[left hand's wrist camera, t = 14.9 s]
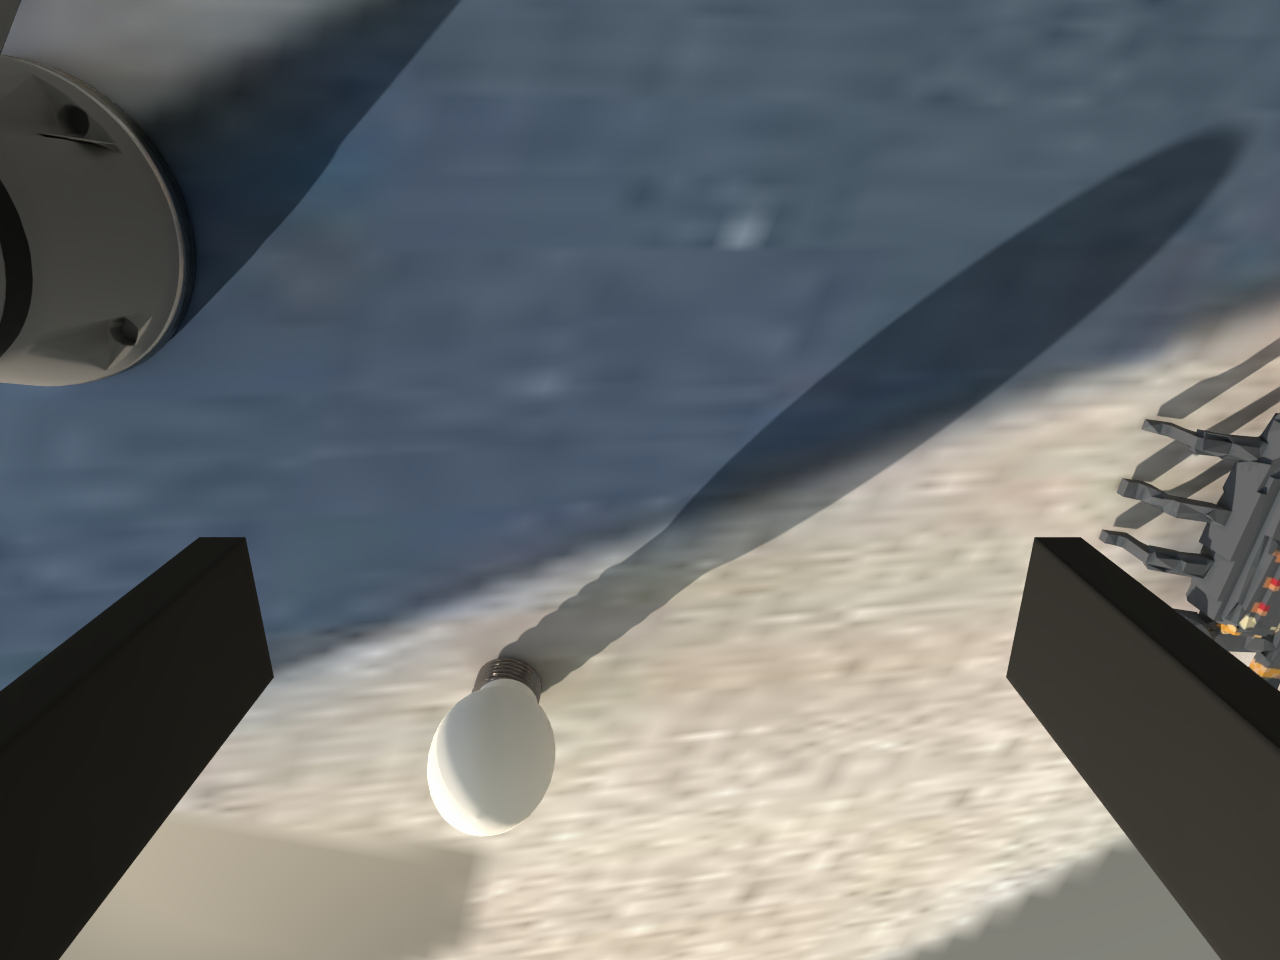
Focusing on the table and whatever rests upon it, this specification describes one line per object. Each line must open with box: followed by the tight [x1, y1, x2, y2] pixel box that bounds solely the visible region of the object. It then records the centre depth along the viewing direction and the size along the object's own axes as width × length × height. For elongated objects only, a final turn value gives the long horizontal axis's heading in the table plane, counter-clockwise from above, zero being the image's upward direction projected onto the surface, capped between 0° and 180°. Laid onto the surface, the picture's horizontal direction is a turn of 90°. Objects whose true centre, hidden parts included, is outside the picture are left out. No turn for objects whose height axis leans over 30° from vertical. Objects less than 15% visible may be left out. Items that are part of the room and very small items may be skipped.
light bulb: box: [427, 658, 555, 836], centre depth 42 cm, size 7×7×11 cm
